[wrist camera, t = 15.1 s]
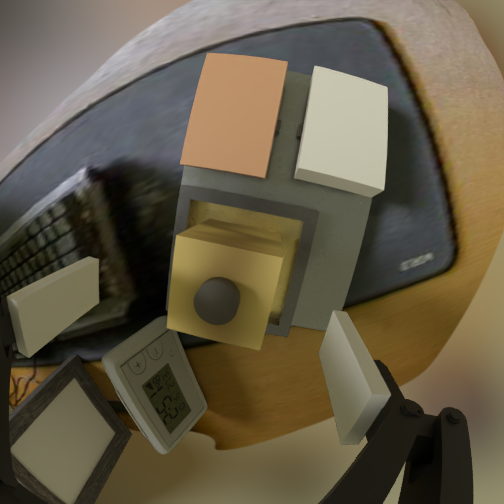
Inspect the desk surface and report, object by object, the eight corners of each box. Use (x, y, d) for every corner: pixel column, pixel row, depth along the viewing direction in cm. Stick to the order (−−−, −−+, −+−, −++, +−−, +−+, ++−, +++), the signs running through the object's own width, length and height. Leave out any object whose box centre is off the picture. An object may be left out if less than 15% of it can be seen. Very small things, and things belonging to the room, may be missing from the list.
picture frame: (132, 433, 34) (81, 529, 13) (123, 433, 34) (71, 524, 14) (77, 354, 31) (-14, 445, 10) (69, 355, 31) (-19, 442, 11)
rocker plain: (293, 178, 19) (298, 167, 17) (310, 82, 19) (314, 65, 17) (371, 197, 19) (384, 190, 17) (377, 101, 19) (387, 87, 17)
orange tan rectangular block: (190, 166, 21) (180, 164, 18) (213, 65, 19) (207, 53, 16) (265, 179, 20) (264, 177, 18) (286, 74, 18) (287, 61, 16)
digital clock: (210, 409, 31) (194, 463, 22) (155, 401, 31) (129, 448, 22) (195, 313, 27) (164, 364, 19) (131, 309, 28) (86, 351, 19)
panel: (173, 294, 27) (160, 308, 24) (213, 69, 22) (204, 54, 18) (329, 326, 26) (335, 344, 23) (379, 103, 21) (393, 93, 18)
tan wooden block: (198, 285, 24) (159, 337, 15) (209, 218, 23) (168, 239, 14) (265, 300, 24) (259, 361, 15) (280, 233, 23) (283, 264, 14)
